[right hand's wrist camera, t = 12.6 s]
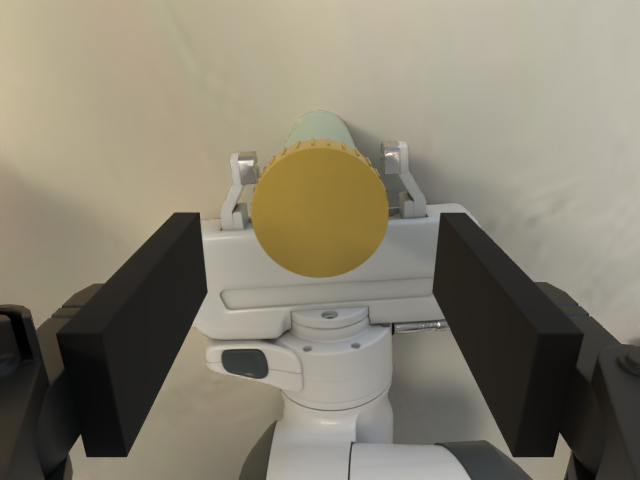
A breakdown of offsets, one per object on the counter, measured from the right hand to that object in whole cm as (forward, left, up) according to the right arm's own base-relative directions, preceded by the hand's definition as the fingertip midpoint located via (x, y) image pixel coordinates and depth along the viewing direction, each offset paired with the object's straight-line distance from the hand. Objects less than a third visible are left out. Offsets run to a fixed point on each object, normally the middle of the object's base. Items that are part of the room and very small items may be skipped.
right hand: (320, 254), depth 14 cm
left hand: (0, 0, -15) cm, 15 cm away
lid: (0, 0, -4) cm, 4 cm away
